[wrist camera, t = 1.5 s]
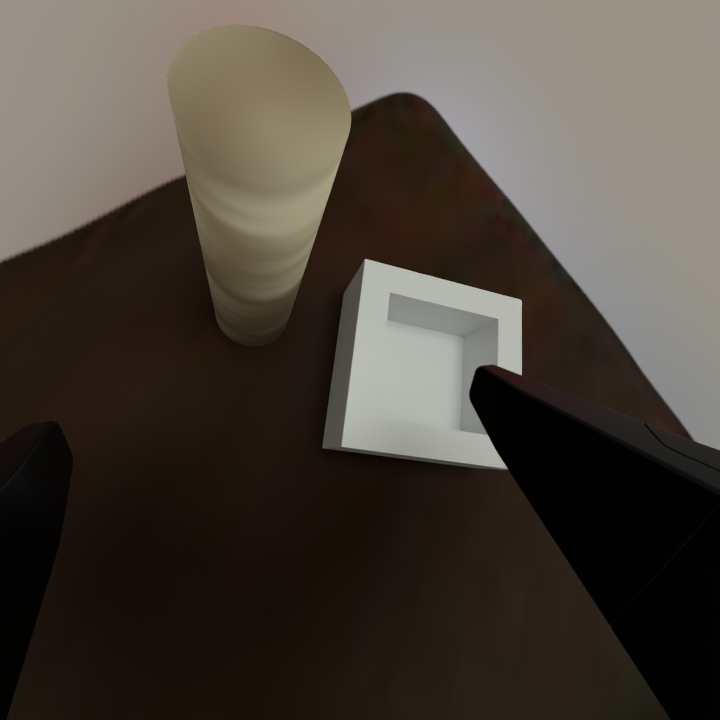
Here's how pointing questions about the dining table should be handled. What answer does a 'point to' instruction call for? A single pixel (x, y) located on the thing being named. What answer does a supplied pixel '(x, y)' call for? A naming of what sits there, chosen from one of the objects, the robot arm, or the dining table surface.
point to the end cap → (417, 366)
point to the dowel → (256, 166)
